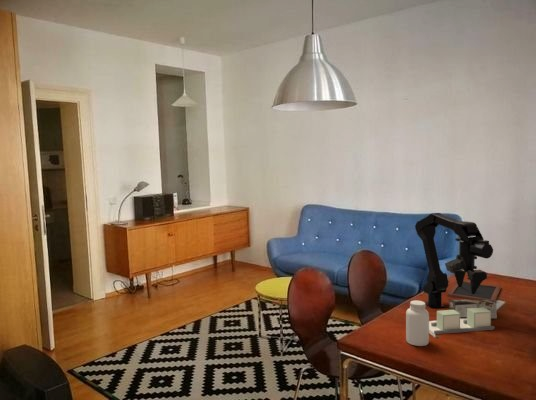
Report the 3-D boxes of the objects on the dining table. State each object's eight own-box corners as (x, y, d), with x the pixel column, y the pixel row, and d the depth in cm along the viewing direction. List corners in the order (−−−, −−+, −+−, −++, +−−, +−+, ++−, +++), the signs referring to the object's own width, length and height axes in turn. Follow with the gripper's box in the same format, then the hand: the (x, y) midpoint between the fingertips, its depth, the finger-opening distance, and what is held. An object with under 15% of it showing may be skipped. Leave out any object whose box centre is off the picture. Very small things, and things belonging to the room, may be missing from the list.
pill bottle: (428, 338, 158) (428, 299, 156) (429, 348, 150) (429, 307, 148) (406, 336, 160) (406, 298, 159) (405, 345, 153) (406, 305, 151)
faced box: (466, 324, 166) (467, 308, 165) (483, 323, 167) (483, 307, 166) (473, 329, 161) (474, 312, 161) (490, 327, 162) (491, 311, 161)
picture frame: (457, 283, 224) (447, 297, 203) (457, 280, 223) (447, 293, 203) (500, 289, 212) (494, 304, 192) (500, 285, 212) (494, 300, 192)
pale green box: (436, 326, 164) (436, 310, 164) (453, 325, 165) (453, 309, 164) (442, 331, 160) (442, 315, 159) (460, 330, 160) (460, 313, 160)
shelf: (419, 325, 170) (419, 318, 170) (475, 321, 173) (475, 314, 172) (435, 337, 158) (435, 330, 158) (494, 332, 161) (494, 326, 160)
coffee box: (496, 302, 171) (454, 301, 173) (497, 319, 170) (455, 317, 172) (488, 299, 179) (448, 298, 182) (488, 315, 179) (449, 314, 181)
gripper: (436, 249, 180) (436, 285, 181) (461, 259, 161) (460, 299, 163) (460, 248, 181) (460, 283, 182) (488, 258, 162) (487, 297, 164)
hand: (466, 290), depth 173 cm, fingers open, 9 cm apart
